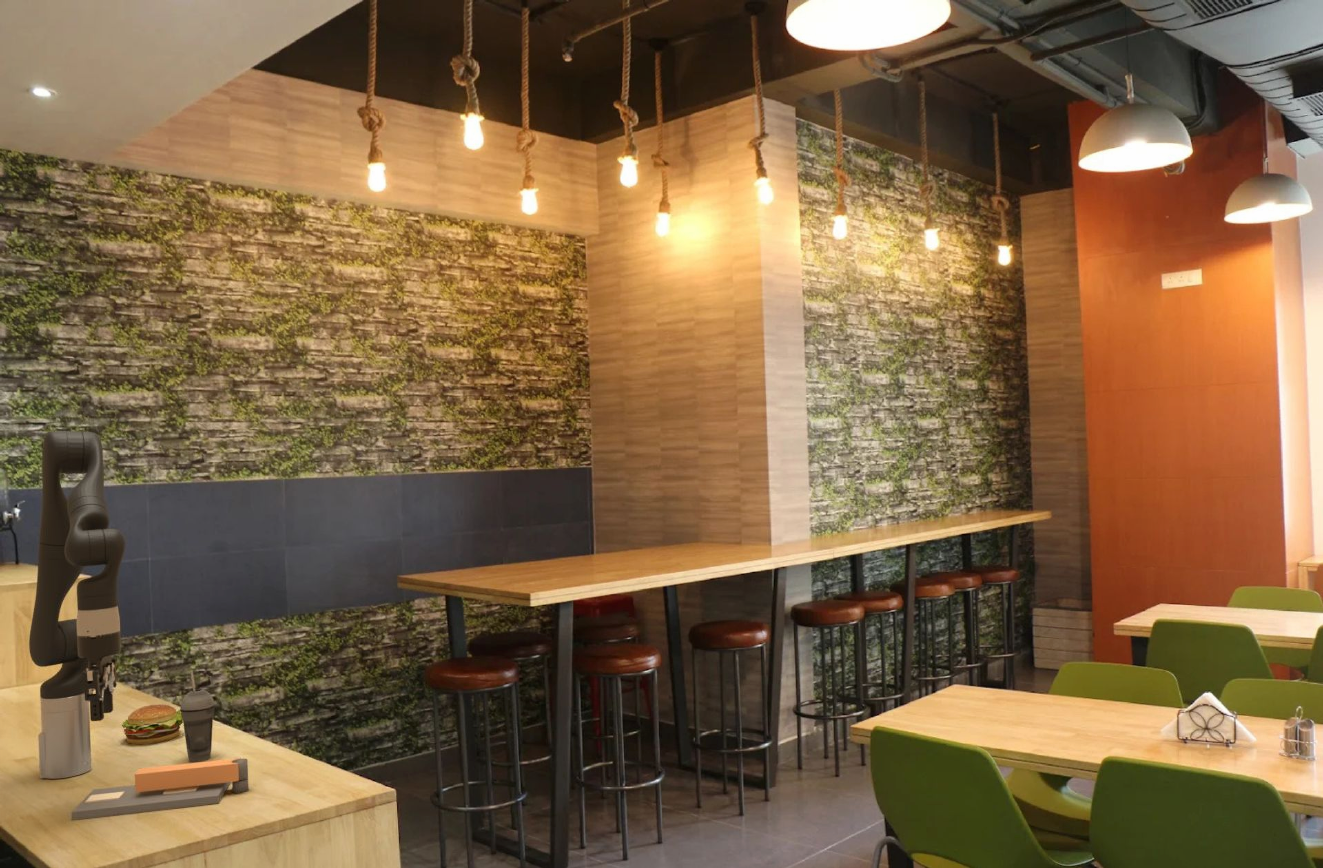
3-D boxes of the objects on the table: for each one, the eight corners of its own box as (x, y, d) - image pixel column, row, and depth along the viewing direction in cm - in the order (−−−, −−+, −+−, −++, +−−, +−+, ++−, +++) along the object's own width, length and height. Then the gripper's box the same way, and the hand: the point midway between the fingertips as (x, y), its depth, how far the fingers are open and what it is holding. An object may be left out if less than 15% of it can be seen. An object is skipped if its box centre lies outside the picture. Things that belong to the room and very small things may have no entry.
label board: (71, 820, 199) (71, 808, 199) (93, 796, 213) (93, 785, 213) (242, 800, 206) (242, 789, 206) (253, 779, 219) (253, 768, 219)
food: (120, 750, 247) (118, 716, 247) (124, 736, 260) (122, 704, 260) (184, 741, 253) (182, 708, 253) (185, 728, 266) (183, 696, 266)
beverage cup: (204, 764, 232) (200, 673, 233) (174, 763, 234) (171, 673, 234) (224, 754, 239) (220, 666, 240) (195, 753, 241) (191, 666, 241)
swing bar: (249, 774, 215) (248, 757, 215) (246, 780, 211) (245, 762, 211) (140, 786, 210) (139, 768, 210) (135, 792, 206) (134, 774, 206)
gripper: (88, 626, 213) (92, 710, 213) (65, 638, 199) (69, 727, 199) (129, 623, 215) (132, 706, 215) (109, 635, 201) (112, 723, 201)
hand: (102, 716), depth 207 cm, fingers open, 5 cm apart
